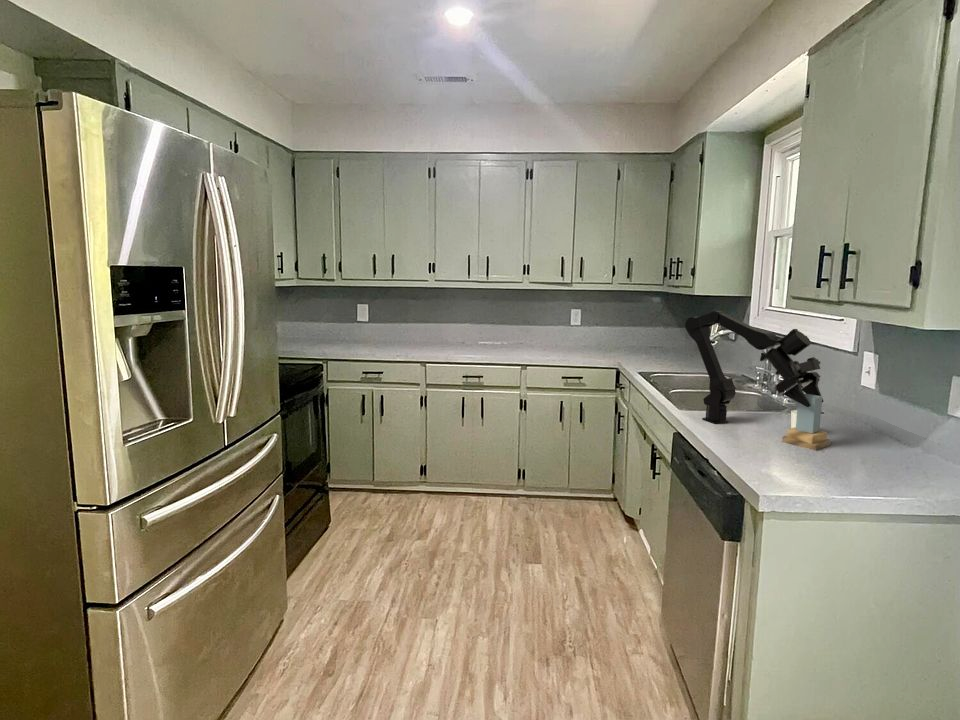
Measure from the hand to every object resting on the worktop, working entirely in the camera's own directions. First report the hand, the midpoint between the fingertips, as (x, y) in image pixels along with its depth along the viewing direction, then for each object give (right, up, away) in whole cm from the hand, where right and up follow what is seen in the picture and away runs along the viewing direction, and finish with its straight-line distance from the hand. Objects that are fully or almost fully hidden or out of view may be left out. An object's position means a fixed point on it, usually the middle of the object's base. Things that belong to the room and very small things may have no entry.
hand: (815, 404), depth 178 cm
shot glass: (+4, -11, +16) cm, 20 cm away
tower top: (-1, -11, +3) cm, 11 cm away
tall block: (-1, -8, +3) cm, 9 cm away
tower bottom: (-1, -13, +4) cm, 14 cm away
